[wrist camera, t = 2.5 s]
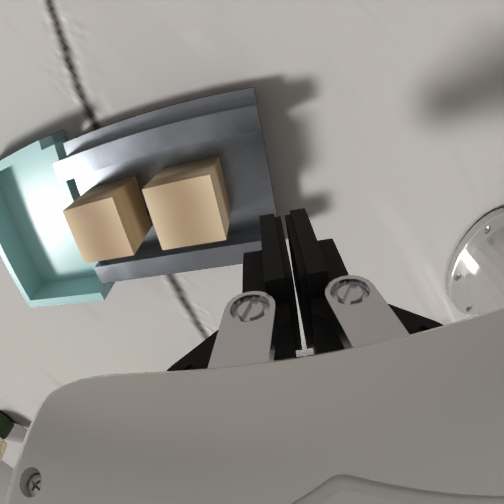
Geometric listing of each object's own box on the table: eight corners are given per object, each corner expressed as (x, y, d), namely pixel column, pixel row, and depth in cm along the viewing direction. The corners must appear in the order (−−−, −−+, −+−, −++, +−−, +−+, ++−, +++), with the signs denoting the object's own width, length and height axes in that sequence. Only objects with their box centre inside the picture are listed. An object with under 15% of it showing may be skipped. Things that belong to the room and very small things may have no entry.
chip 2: (218, 156, 20) (209, 174, 16) (231, 211, 22) (226, 240, 18) (161, 169, 20) (141, 189, 17) (176, 221, 22) (162, 250, 19)
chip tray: (63, 129, 20) (38, 140, 17) (118, 276, 27) (104, 300, 24) (-8, 166, 21) (-31, 179, 18) (44, 286, 28) (29, 307, 25)
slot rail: (253, 87, 19) (252, 88, 16) (281, 241, 25) (284, 269, 22) (76, 137, 21) (48, 150, 17) (123, 265, 27) (106, 293, 23)
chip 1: (135, 175, 20) (112, 197, 17) (151, 226, 22) (134, 255, 19) (89, 188, 21) (62, 211, 17) (107, 235, 23) (85, 263, 19)
